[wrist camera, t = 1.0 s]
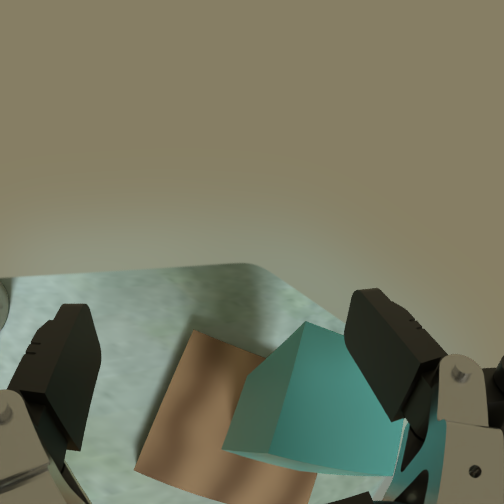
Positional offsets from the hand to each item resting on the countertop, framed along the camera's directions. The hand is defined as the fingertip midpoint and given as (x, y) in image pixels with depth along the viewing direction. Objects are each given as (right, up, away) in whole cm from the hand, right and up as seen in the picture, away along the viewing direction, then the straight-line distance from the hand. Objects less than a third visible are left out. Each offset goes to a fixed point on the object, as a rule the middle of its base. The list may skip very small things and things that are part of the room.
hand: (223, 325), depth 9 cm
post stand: (0, -16, +20) cm, 26 cm away
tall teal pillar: (+2, -10, +12) cm, 16 cm away
